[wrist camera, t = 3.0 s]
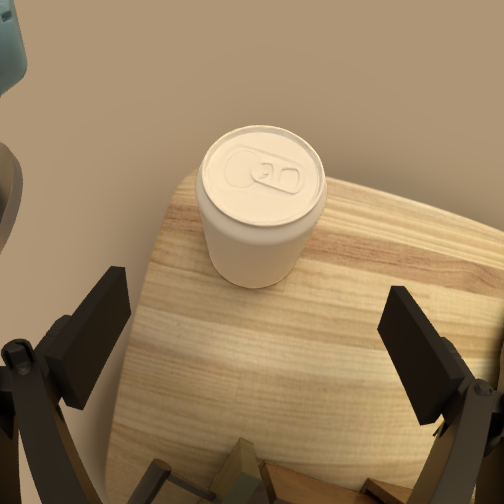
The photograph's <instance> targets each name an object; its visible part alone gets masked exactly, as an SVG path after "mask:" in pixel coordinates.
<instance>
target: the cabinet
mask: <svg viewBox="0 0 504 504" xmlns="http://www.w3.org/2000/svg"><path fill="white" fill-rule="evenodd" d="M412 490H413V489H408V488H404V487H400V486H396V485H392V484H388V483H384V482H380V481H377V480H373V479H370V478H368V479H367V481H366V482H365V484H364V486H363V487H362V489H361V490H360V492H359V493H361V494H365V495H369V496H373V497H377V498H379V499H381V500H382V501H383V502H385V503H386V504H406V502H407V500H408V498H409V496H410V494H411V492H412ZM474 503H475V500H471V499H470V502H469V504H474Z"/></svg>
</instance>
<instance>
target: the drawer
mask: <svg viewBox="0 0 504 504" xmlns="http://www.w3.org/2000/svg"><path fill="white" fill-rule="evenodd" d="M166 479H167V480H169V481H171V482H173V483H174V484H176V485H178V486H180V487H182V488H184V489H186V490H188V491H190V492H192V493H194V494H196V495H198V496H200V497H202V499H201V500H200V502H199V503H198V504H386V503H385V502H383V501H382V500H381V499H379V498H377V497H373V496H369V495H365V494H361V493H358V492H354V491H351V490H347V489H344V488H340V487H337V486H334V485H331V484H328V483H325V482H322V481H319V480H316V479H313V478H310V477H307V476H305V475H302V474H299V473H296V472H294V471H291V470H289V469H286V468H284V467H281V466H279V465H276V464H274V463H271V462H269V461H267V460H264V461H263V463H262V465H261V466H260V468H259V467H258V462H257V458H256V454H255V449H254V445H253V443H251V442H249V441H246V440H244V439H242V438H240V439H239V441H238V442H237V444H236V446H235V447H234V449H233V450H232V452H231V454H230V455H229V457H228V459H227V460H226V462H225V463H224V465H223V466H222V468H221V470H220V471H219V473H218V474H217V476H216V477H215V479H214V481H213V482H212V484H211V485H210V487H209V488H208V489H206V488H204V487H202V486H200V485H198V484H196V483H194V482H192V481H190V480H188V479H186V478H184V477H182V476H180V475H178V474H177V473H175V472H173V471H172V467H171V466H170V465H169V464H168V463H166V462H164V461H162V460H160V459H153V461H152V463H151V464H150V466H149V468H148V469H147V471H146V473H145V474H144V476H143V478H142V479H141V481H140V483H139V484H138V486H137V487H136V489H135V491H134V492H133V494H132V496H131V497H130V499H129V501H128V502H127V504H151V503H152V501H153V500H154V498H155V497H156V495H157V493H158V492H159V490H160V489H161V487H162V486H163V484H164V482H165V481H166Z"/></svg>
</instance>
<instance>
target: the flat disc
mask: <svg viewBox="0 0 504 504" xmlns="http://www.w3.org/2000/svg"><path fill="white" fill-rule="evenodd" d="M497 391H504V343H503V346H502V349H501V355H500V375H499V380H498V387H497Z"/></svg>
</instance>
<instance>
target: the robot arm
mask: <svg viewBox="0 0 504 504" xmlns="http://www.w3.org/2000/svg"><path fill="white" fill-rule="evenodd" d="M26 70H27V58H26V53H25V49H24V44H23V40H22V35H21V31H20V27H19V23H18V18H17V14H16V9H15V5H14V1H13V0H0V97H1V95H2V94H4V93H5V92H6V91H8V90H9V89H10V88H11V87H13V86H14V85H15V84H16V83H18V82H19V81H20V80H21V79H22V78H23V77H24V75H25V73H26ZM130 315H131V309H130V303H129V296H128V288H127V282H126V272H125V267H116V266H111V267H110V268H109V269H108V270H107V272H106V273H105V274H104V275H103V277H102V278H101V279H100V280H99V281H98V283H97V284H96V285H95V286H94V288H93V289H92V290H91V291H90V293H89V294H88V295H87V297H86V298H85V299H84V300H83V301H82V303H81V304H80V305H79V307H78V308H77V309H76V311H75V312H74V313H73V315H72V316H70V315H64V316H62V317H61V318H59V319H58V320H56V321H55V323H54V324H53V325H52V327H51V328H50V330H48V332H47V333H46V336H44V337H43V338H42V340H41V341H40V342H39V344H38V345H37V346H36V348H35V349H34V350H33V348H32V346H31V344H30V342H29V341H27V340H25V339H14V340H12V341H10V342H8V343H7V344H6V345H4V347H3V349H2V350H1V356H2V358H3V361H4V362H5V364H6V366H0V504H22V503H21V493H20V479H19V457H18V456H19V454H18V453H19V452H18V439H19V438H18V437H19V431H20V435H21V439H22V443H23V447H24V451H25V454H26V458H27V461H28V465H29V468H30V471H31V474H32V477H33V480H34V483H35V486H36V489H37V491H38V494H39V497H40V500H41V502H42V504H103V503H102V502H101V500H100V498H99V497H98V494H97V492H96V490H95V488H94V487H93V484H92V482H91V481H90V479H89V477H88V474H87V473H86V470H85V468H84V466H83V464H82V461H81V459H80V457H79V455H78V452H77V450H76V447H75V445H74V443H73V440H72V438H71V435H70V433H69V430H68V427H67V425H66V422H65V419H64V417H63V414H62V411H61V408H60V406H59V404H58V403H59V401H60V399H61V397H62V398H63V400H64V402H65V404H66V405H67V406H69V407H72V408H76V409H79V410H83V409H84V407H85V405H86V402H87V400H88V398H89V396H90V394H91V391H92V390H93V388H94V385H95V383H96V381H97V379H98V377H99V375H100V373H101V371H102V369H103V367H104V365H105V363H106V361H107V359H108V357H109V355H110V353H111V351H112V349H113V347H114V346H115V343H116V342H117V340H118V338H119V336H120V334H121V332H122V330H123V328H124V326H125V324H126V323H127V321H128V319H129V317H130ZM377 330H378V332H379V334H380V336H381V338H382V340H383V343H384V345H385V347H386V349H387V351H388V353H389V355H390V357H391V360H392V362H393V364H394V366H395V368H396V371H397V373H398V375H399V377H400V379H401V382H402V384H403V386H404V388H405V391H406V393H407V395H408V398H409V400H410V402H411V405H412V407H413V409H414V412H415V414H416V417H417V419H418V422H419V424H420V426H421V425H426V424H431V423H435V422H436V420H437V419H438V418H439V416H440V415H441V413H442V415H443V418H444V421H443V422H442V424H441V425H440V426H439V428H438V429H437V430H436V431H435V433H434V434H433V436H434V437H435V435H436V434H437V433H438V434H437V436H436V439H435V441H434V444H433V446H432V449H431V451H430V454H429V456H428V458H427V461H426V463H425V465H424V467H423V470H422V472H421V474H420V476H419V478H418V480H417V482H416V484H415V486H414V488H413V490H412V492H411V494H410V496H409V498H408V500H407V502H406V504H469V502H470V499H471V496H472V493H473V490H474V487H475V484H476V492H475V503H474V504H504V391H496V390H493V388H492V386H491V385H490V384H489V383H488V382H486V381H484V380H482V379H475V377H474V376H473V374H472V373H471V371H470V370H469V368H468V366H467V365H466V363H465V362H464V360H463V359H461V356H460V354H459V353H457V350H456V348H455V347H454V345H453V344H452V343H451V342H450V341H449V340H447V339H446V338H445V337H440V336H439V334H438V333H437V331H436V330H435V328H434V327H433V326H432V324H431V323H430V321H429V320H428V318H427V317H426V316H425V314H424V313H423V311H422V310H421V308H420V307H419V306H418V304H417V303H416V302H415V300H414V299H413V297H412V296H411V295H410V293H409V292H408V291H407V289H406V288H405V287H404V286H391V289H390V292H389V295H388V298H387V302H386V305H385V308H384V311H383V314H382V317H381V320H380V323H379V326H378V328H377Z"/></svg>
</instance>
